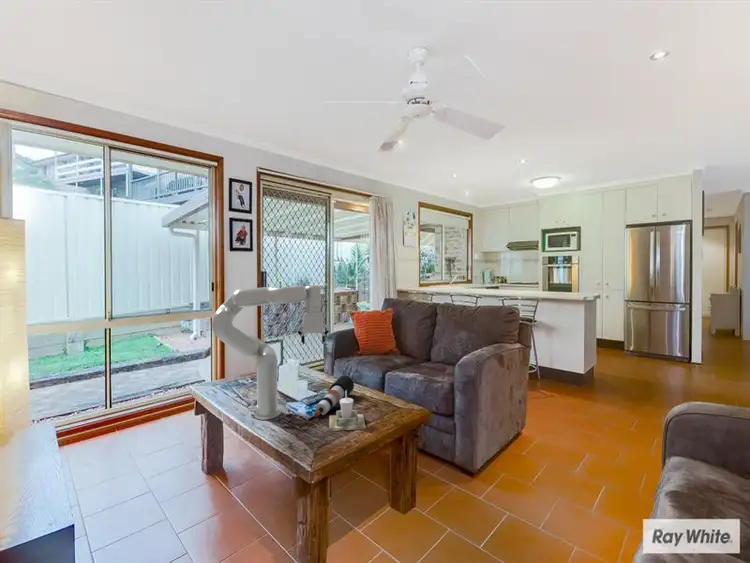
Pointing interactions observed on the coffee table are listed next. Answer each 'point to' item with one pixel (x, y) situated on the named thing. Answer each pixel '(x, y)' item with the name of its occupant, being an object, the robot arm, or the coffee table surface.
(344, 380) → the white black banded cylinder
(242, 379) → the coffee table surface
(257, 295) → the robot arm
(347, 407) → the smoothie
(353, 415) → the end holder
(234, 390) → the coffee table surface
